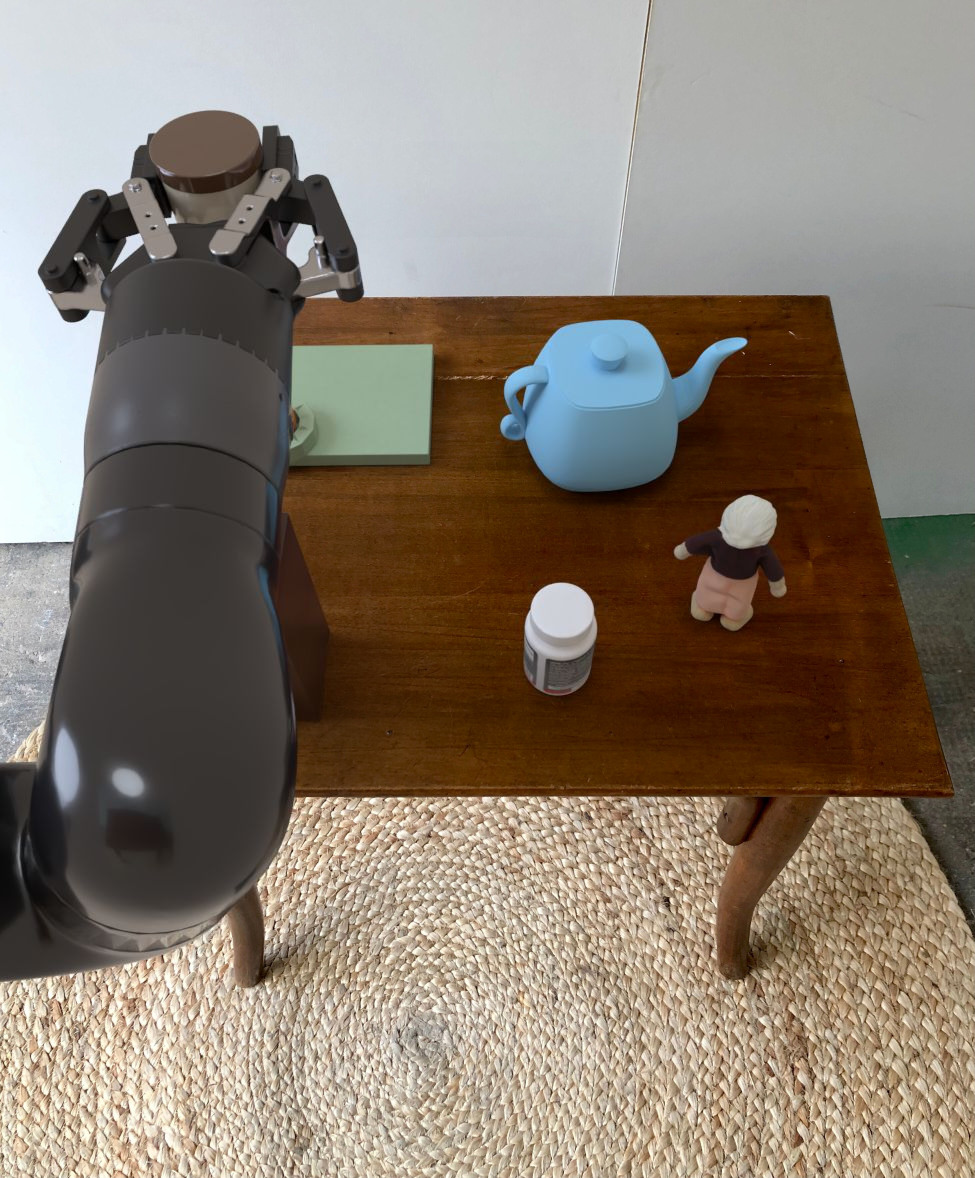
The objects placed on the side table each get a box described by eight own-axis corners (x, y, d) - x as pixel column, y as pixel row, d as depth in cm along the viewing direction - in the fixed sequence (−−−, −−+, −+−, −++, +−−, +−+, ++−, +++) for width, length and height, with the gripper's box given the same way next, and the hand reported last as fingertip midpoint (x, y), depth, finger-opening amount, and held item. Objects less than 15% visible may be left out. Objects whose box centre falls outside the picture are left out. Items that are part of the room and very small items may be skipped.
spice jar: (185, 301, 49) (125, 147, 41) (253, 252, 51) (208, 96, 43) (248, 343, 47) (198, 191, 39) (316, 291, 49) (282, 136, 41)
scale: (244, 476, 73) (234, 452, 70) (263, 357, 79) (255, 331, 77) (429, 474, 73) (427, 450, 70) (434, 355, 79) (431, 329, 76)
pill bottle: (602, 656, 64) (615, 598, 57) (569, 709, 62) (577, 656, 55) (544, 625, 66) (550, 564, 58) (510, 675, 64) (511, 619, 56)
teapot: (771, 398, 62) (511, 422, 61) (736, 491, 71) (509, 513, 71) (727, 273, 68) (490, 293, 68) (700, 373, 78) (491, 392, 77)
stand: (218, 720, 62) (144, 616, 49) (234, 630, 66) (168, 511, 53) (320, 721, 62) (272, 617, 49) (330, 630, 66) (288, 511, 53)
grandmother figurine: (768, 594, 67) (820, 492, 56) (764, 640, 65) (817, 544, 54) (663, 575, 68) (695, 471, 57) (657, 619, 66) (688, 520, 55)
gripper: (363, 324, 33) (354, 58, 41) (-39, 354, 32) (36, 79, 41) (385, 455, 39) (374, 202, 48) (51, 482, 39) (100, 221, 47)
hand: (218, 147), depth 44 cm, fingers closed on spice jar, 5 cm apart
